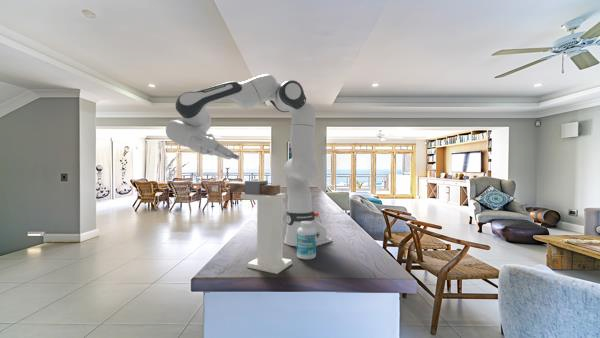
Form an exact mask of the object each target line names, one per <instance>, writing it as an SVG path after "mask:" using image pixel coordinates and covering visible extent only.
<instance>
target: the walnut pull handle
mask: <svg viewBox="0 0 600 338" xmlns="http://www.w3.org/2000/svg"><path fill="white" fill-rule="evenodd" d="M229 192H232V193H242V194H245V183H240V182H239V183H237V182H234V183H233V182H232V183H229ZM280 193H281V185H280V184H268V185H264V184H260V194H274V195H276V194H280Z"/></svg>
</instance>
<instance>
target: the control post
mask: <svg viewBox="0 0 600 338" xmlns="http://www.w3.org/2000/svg"><path fill="white" fill-rule="evenodd" d="M244 184H245V193H242V194H240V200H251V201H252V200H253V201H257V202H256V203H257V204H256V205H257V206H256V208H257V210H256V211H257V213H256V214H257V215H256V221H257V223H256V224H257V225H256V226H257V227H256V228H257V229H256V230H257V232H256V234H257V235H256V236H257V237H256V241H257V242H256V248H257V249H256V250H257V252H256V258H254V259H253V260H251V261H249V262H247V268H249V269H253V270H257V271H261V272H262V271H263V272H267V273H270V274H276V275H278V274H280V272H282V271H283V270H285V269H287V268H289V267H290V266H291V265H292V264H293V260H292V259H290V258H284V257H283V255H284V254H283V253H284V251H283V250H284V247H283V243H284V237H283V236H284V235H283V234H284V229H283V227H284V226H283V223H284V222H283V220H284V218H283V217H284V216H283V215H284V202H283V201H284V200H283V199H285V198H286V194H285V193H281V192H280V194H276V195H274V194H260V184H264V185H269V183H268V180H259V179H256V180H254V179H253V180H245V181H244Z"/></svg>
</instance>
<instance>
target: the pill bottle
mask: <svg viewBox="0 0 600 338" xmlns="http://www.w3.org/2000/svg"><path fill="white" fill-rule="evenodd" d="M312 226H313V222H311V221H302V222H301V227H300V228H298V230H297V246H296V257H297V258H298V259H300V260H312V259H315V258H316V256H317V246H316V229H315V228H313V227H312Z"/></svg>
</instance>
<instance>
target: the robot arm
mask: <svg viewBox="0 0 600 338" xmlns="http://www.w3.org/2000/svg"><path fill="white" fill-rule="evenodd" d="M224 100H231V101H233V102H234V103H235V104H237V105H238V106H239V107H241V108H244V109H253V108H255V107H257V106H259V105H261V104H263V103H265V102H268V101H269V103H270V104H272V105H273V106H274V108H275V109H276V110H277V111H278V112H281V113H288V112H289V113H290V116H291V124H290V137H289V145H290V149H291V158H289V159H288V160H286V162H285V163H284V165H283V172H284V175H285V177H284V178H285V185H286V192H287V211H286V231H285V236H284V239H283V243H284V245H285V244H286V245H287V246H292V247H297V230H298V228H300V227H301V222H302V221H311V222H313V226H312V227H313V228H315V229H316V247H317V246H321V245H324V244H327V243H331V242H333V239H332V237H330V236H328V232H327V228H326V226H324V225H323V224H322V223H321V222H319V221H318V220H317V219H316V217H317V218H318V217H319V216H320V213H319V212H318V211H315V212H314V211H313V209H312V208H313V207H312V206H313V203H312V202H313V197H312V196H313V194H312V192H311V189H310V183H309V182H310V181H312V180H313V179H315V178H316V177H317V175H318V173H319V165H318V163H317V160H316V153H315V134H316V109H315V106H314V105H313V104H312V103H311V102H307V96H306V95H305V91H304V89H303V86H302V84H301V83H300V82H298V81H296V80H292V79H289V80H287V81H284V82H283V83H282V84H280V83H279V82H278V80H277V79H276V78H275V77H274V75H272V74H268V73H265V74H261V75H258V76H256V77H253V78H250V79H248V80H245V81H242V82H240V81H239V82H237V81H232V80H231V81H227V82H224V83H220V84H215V85H213V86H209V87H207V88H203V89H199V90H193V91H187V92H184V93H182V94H180V95H179V96H178V98H177V99H176V101H175V109H176V112H177V113H178V114H179V115H180V116H181V117H180V118H177V119H172V120H169V121H168V122H167V123H166V126H165V134H166V136H167V138H168V139H169V140H171V141H172V142H174V143H175V144H177V145H179V146H182V147H186V148H189V149H190V150H192V151H193V152H196V153H198V154H201V155H203V156H204V155H209V156H212V157H213V156H216V157H219V158H222V159H226V160H231V159H234V160H237V161H238V160H239V159H240V155H238V154H236V153H234V151H233V150H232V149H229V148H228V147H226V146H224V145H223V144H221V143H220V142H219V141H218V140H217V139H216V138H215V137H214V135H213V134H212V133H210V132H208V131H209V130H210V128H211V127H212V124H213V120H212V117H211V115H210V112H209V111H208V109H207V106H208V105H211V104H215V103H217V102H220V101H224Z"/></svg>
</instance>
